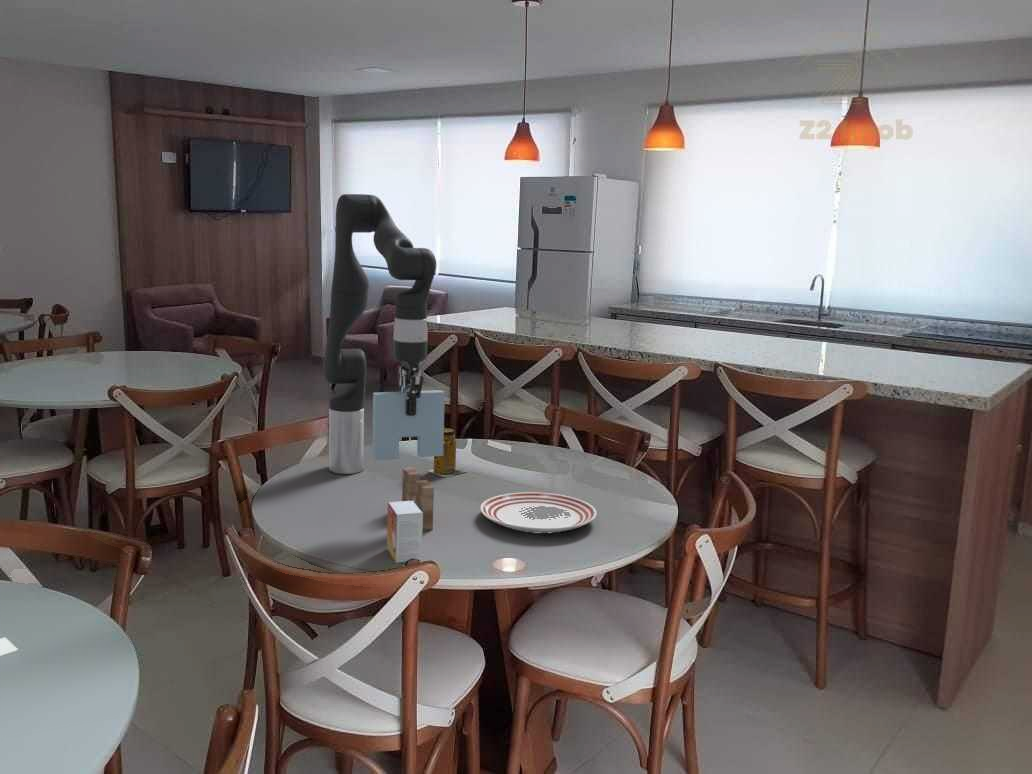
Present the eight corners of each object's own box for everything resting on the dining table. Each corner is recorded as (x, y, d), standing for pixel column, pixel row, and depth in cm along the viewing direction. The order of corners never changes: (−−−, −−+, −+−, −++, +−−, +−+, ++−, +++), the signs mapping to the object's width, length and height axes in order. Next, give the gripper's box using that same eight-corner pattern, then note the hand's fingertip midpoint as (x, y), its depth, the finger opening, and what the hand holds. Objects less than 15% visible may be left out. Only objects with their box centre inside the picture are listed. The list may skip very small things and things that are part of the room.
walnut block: (401, 507, 212) (402, 467, 210) (411, 506, 213) (412, 467, 211) (422, 530, 197) (423, 488, 195) (432, 529, 198) (433, 487, 196)
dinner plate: (466, 505, 216) (466, 492, 215) (569, 498, 225) (569, 486, 224) (500, 547, 191) (501, 532, 190) (615, 537, 200) (616, 523, 199)
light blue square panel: (372, 457, 199) (373, 392, 196) (439, 452, 205) (441, 390, 202) (374, 460, 197) (375, 394, 194) (443, 455, 203) (444, 392, 200)
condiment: (426, 471, 242) (428, 429, 240) (451, 466, 248) (452, 425, 245) (443, 477, 237) (444, 434, 234) (467, 472, 242) (469, 430, 240)
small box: (386, 549, 186) (387, 501, 184) (412, 546, 188) (413, 499, 186) (395, 563, 179) (396, 514, 177) (421, 560, 181) (423, 512, 179)
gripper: (436, 342, 191) (434, 420, 194) (418, 333, 204) (416, 406, 207) (402, 343, 188) (400, 421, 191) (386, 334, 201) (385, 408, 204)
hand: (409, 413), depth 199 cm, fingers closed on light blue square panel, 2 cm apart
